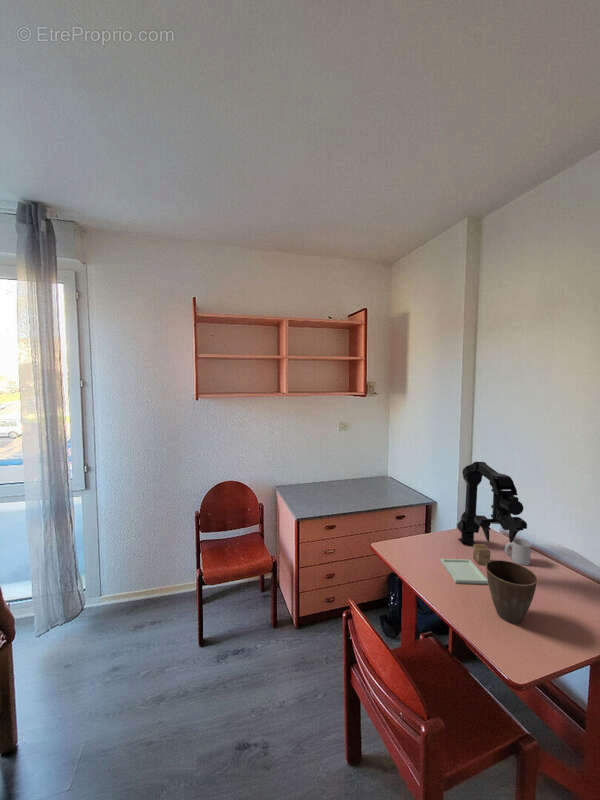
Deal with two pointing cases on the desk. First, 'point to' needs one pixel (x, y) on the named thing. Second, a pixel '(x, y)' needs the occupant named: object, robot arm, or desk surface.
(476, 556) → the walnut block
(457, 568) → the tray
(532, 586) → the plant pot
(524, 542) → the cup
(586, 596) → the desk surface
